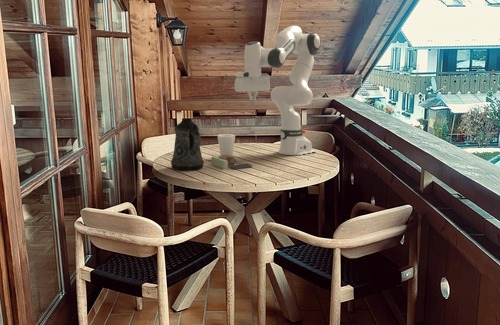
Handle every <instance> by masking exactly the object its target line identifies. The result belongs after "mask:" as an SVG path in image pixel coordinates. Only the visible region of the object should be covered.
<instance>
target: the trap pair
mask: <svg viewBox="0 0 500 325" xmlns="http://www.w3.org/2000/svg"><path fill="white" fill-rule="evenodd" d="M235 162H237V159H235V158H234V163H235ZM252 167H253V165H252V164H249V163H242V164H241V163H240V164H234V165H231V166H230V167H229V168H230V169H232V170H241V169H249V168H252Z"/></svg>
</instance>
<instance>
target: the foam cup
mask: <svg viewBox="0 0 500 325" xmlns="http://www.w3.org/2000/svg"><path fill="white" fill-rule="evenodd" d="M235 141H236V135H235V134H232V133H221V134H218V135H217V142H218V147H219V156H224V155H231V156H234V146H235Z"/></svg>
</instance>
